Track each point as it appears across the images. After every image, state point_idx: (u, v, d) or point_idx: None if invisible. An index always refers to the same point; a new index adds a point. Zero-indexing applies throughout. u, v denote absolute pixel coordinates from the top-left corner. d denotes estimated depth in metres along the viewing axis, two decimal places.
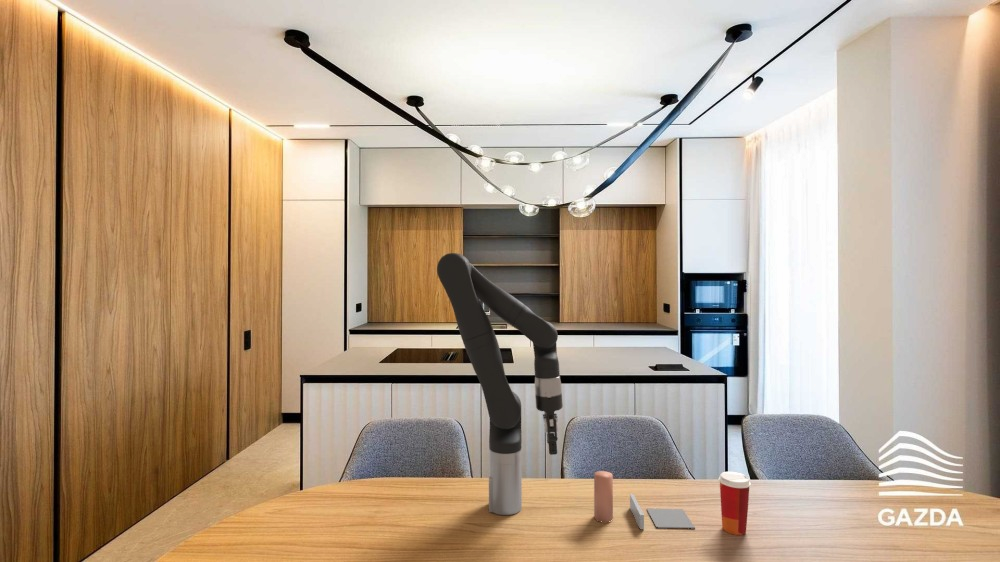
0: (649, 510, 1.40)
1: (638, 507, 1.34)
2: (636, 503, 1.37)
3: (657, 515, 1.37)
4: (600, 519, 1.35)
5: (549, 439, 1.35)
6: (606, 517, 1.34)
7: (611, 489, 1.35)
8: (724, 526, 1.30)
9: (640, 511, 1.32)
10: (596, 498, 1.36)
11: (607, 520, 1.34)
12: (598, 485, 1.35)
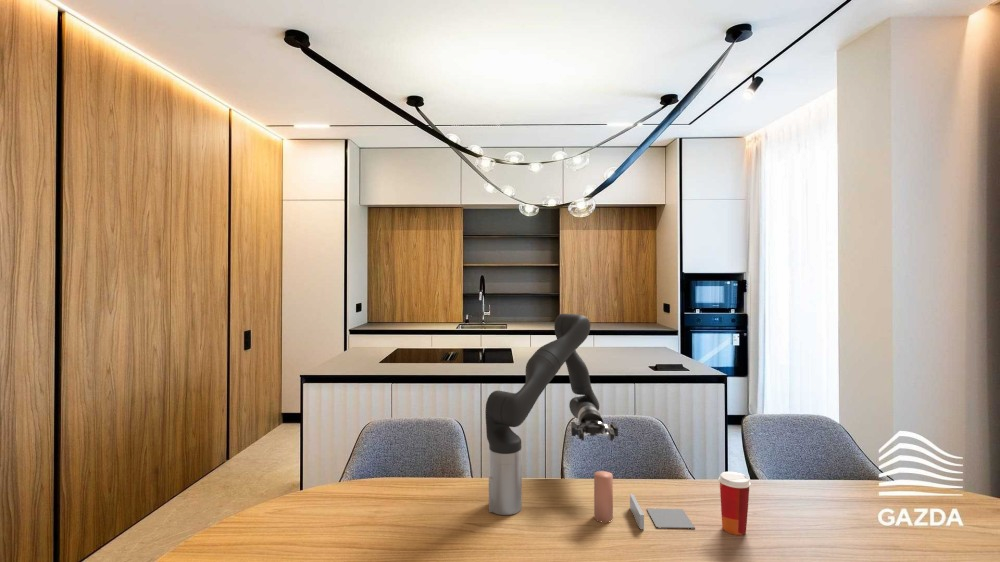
0: (649, 510, 1.40)
1: (638, 507, 1.34)
2: (636, 503, 1.37)
3: (657, 515, 1.37)
4: (600, 519, 1.35)
5: None
6: (606, 517, 1.34)
7: (611, 489, 1.35)
8: (724, 526, 1.30)
9: (640, 511, 1.32)
10: (596, 498, 1.36)
11: (607, 520, 1.34)
12: (598, 485, 1.35)
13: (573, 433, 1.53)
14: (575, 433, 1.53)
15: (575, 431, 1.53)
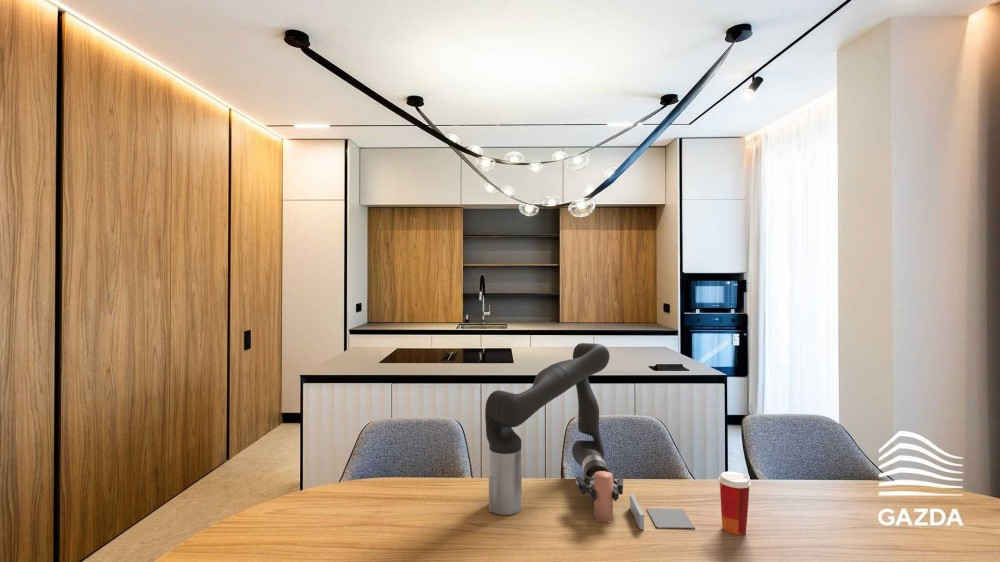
0: (649, 510, 1.40)
1: (638, 507, 1.34)
2: (636, 503, 1.37)
3: (657, 515, 1.37)
4: (600, 519, 1.35)
5: None
6: (606, 517, 1.34)
7: (611, 489, 1.35)
8: (724, 526, 1.30)
9: (640, 511, 1.32)
10: (596, 498, 1.36)
11: (607, 520, 1.34)
12: (598, 485, 1.35)
13: (584, 491, 1.39)
14: (586, 491, 1.38)
15: (586, 488, 1.38)
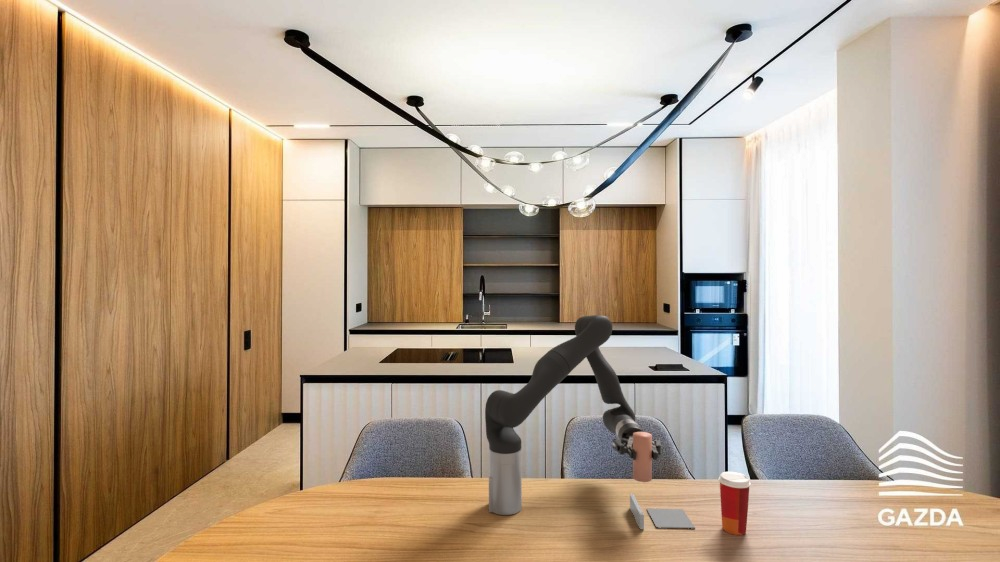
0: (649, 510, 1.40)
1: (638, 507, 1.34)
2: (636, 503, 1.37)
3: (657, 515, 1.37)
4: (640, 478, 1.35)
5: None
6: (646, 476, 1.34)
7: (650, 449, 1.35)
8: (724, 526, 1.30)
9: (640, 511, 1.32)
10: None
11: (647, 479, 1.34)
12: (637, 445, 1.35)
13: (622, 451, 1.38)
14: (624, 451, 1.38)
15: (624, 449, 1.38)
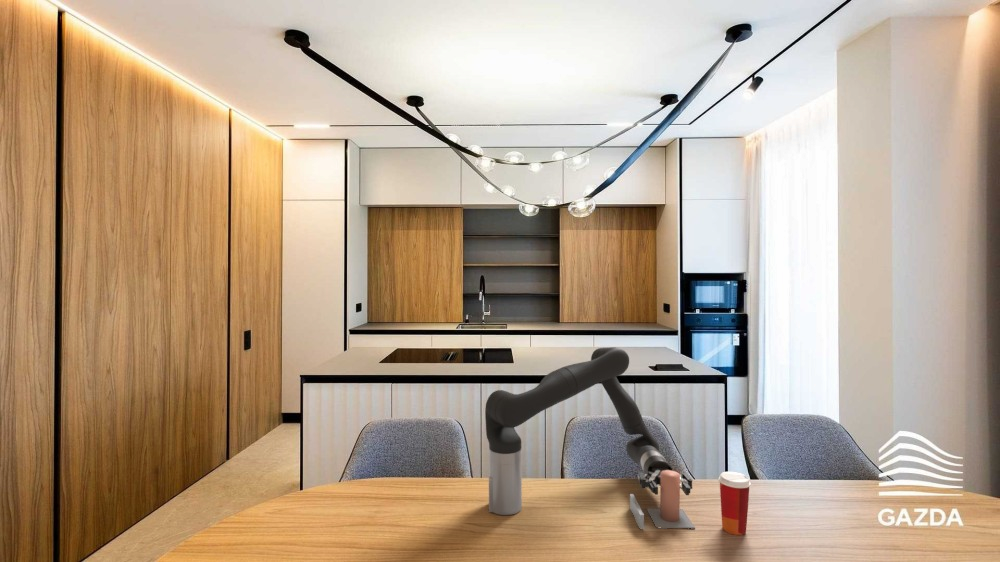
0: (649, 510, 1.40)
1: (638, 507, 1.34)
2: (636, 503, 1.37)
3: (657, 515, 1.37)
4: (667, 518, 1.34)
5: None
6: (674, 516, 1.34)
7: (678, 488, 1.34)
8: (724, 526, 1.30)
9: (640, 511, 1.32)
10: (663, 497, 1.35)
11: (674, 519, 1.34)
12: (665, 485, 1.34)
13: (643, 485, 1.39)
14: (646, 485, 1.38)
15: (646, 483, 1.38)
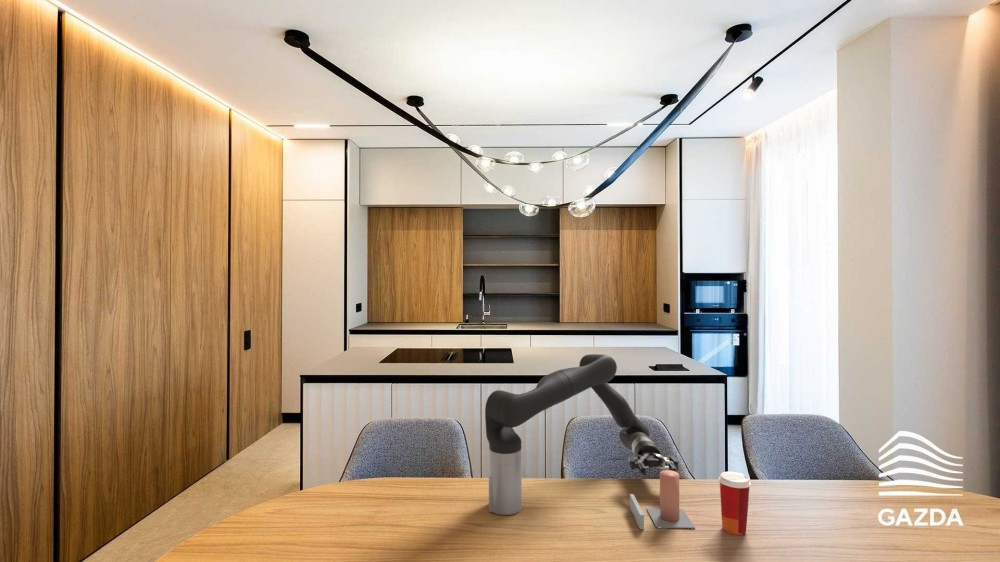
0: (649, 510, 1.40)
1: (638, 507, 1.34)
2: (636, 503, 1.37)
3: (657, 515, 1.37)
4: (667, 518, 1.34)
5: None
6: (674, 516, 1.34)
7: (678, 488, 1.34)
8: (724, 526, 1.30)
9: (640, 511, 1.32)
10: (662, 497, 1.35)
11: (674, 519, 1.34)
12: (664, 485, 1.34)
13: (633, 466, 1.51)
14: (635, 466, 1.51)
15: (635, 464, 1.51)
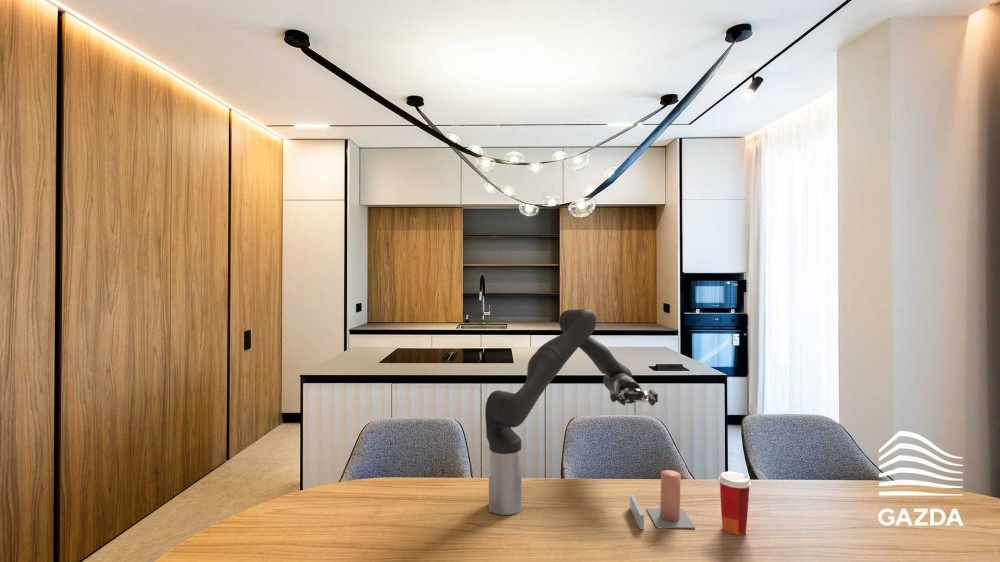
0: (649, 510, 1.40)
1: (638, 507, 1.34)
2: (636, 503, 1.37)
3: (657, 515, 1.37)
4: (667, 518, 1.34)
5: None
6: (674, 516, 1.34)
7: (679, 488, 1.34)
8: (724, 526, 1.30)
9: (640, 511, 1.32)
10: (663, 497, 1.35)
11: (674, 519, 1.34)
12: (665, 484, 1.34)
13: (613, 399, 1.55)
14: (615, 399, 1.55)
15: (615, 397, 1.55)
